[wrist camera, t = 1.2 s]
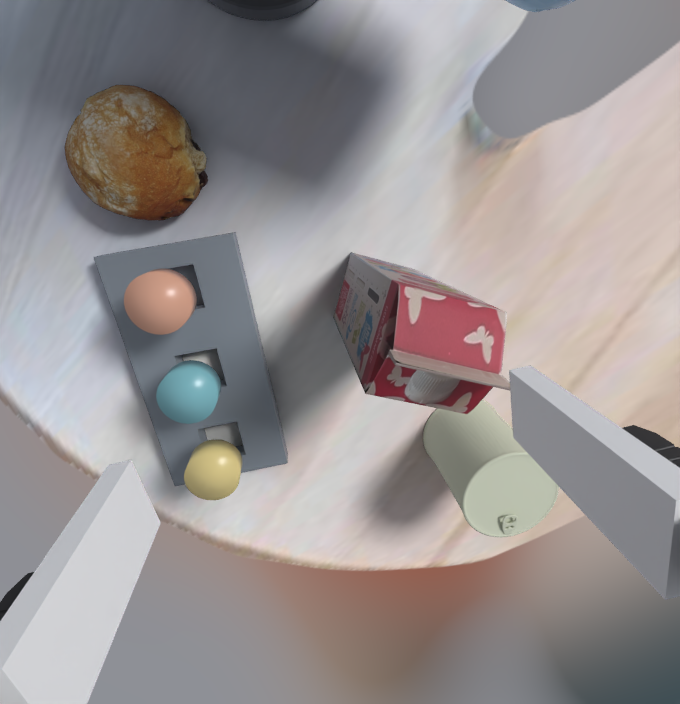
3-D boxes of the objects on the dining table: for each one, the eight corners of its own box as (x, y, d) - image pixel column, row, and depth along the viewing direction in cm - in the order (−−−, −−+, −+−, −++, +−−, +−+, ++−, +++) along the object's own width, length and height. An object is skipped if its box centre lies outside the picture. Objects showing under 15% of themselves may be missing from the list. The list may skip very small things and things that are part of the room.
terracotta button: (135, 270, 35) (114, 279, 31) (192, 260, 35) (179, 267, 31) (153, 324, 37) (135, 339, 32) (207, 314, 37) (197, 328, 33)
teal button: (164, 358, 38) (148, 377, 33) (216, 348, 38) (208, 365, 34) (179, 405, 39) (166, 428, 35) (229, 395, 40) (222, 417, 35)
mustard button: (188, 434, 40) (177, 460, 36) (238, 424, 41) (232, 449, 36) (202, 475, 42) (192, 504, 38) (249, 465, 42) (245, 493, 38)
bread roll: (146, 92, 37) (66, 36, 29) (236, 144, 35) (176, 98, 28) (105, 195, 39) (20, 167, 32) (188, 248, 38) (120, 232, 30)
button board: (103, 254, 38) (93, 257, 36) (235, 232, 38) (232, 233, 36) (179, 474, 46) (174, 486, 44) (287, 452, 46) (287, 463, 44)
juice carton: (395, 331, 43) (492, 443, 23) (333, 317, 42) (377, 421, 21) (414, 269, 41) (541, 328, 21) (350, 252, 40) (417, 296, 19)
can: (422, 471, 49) (462, 548, 38) (422, 401, 46) (465, 462, 35) (497, 461, 50) (557, 534, 39) (501, 392, 47) (569, 449, 36)
